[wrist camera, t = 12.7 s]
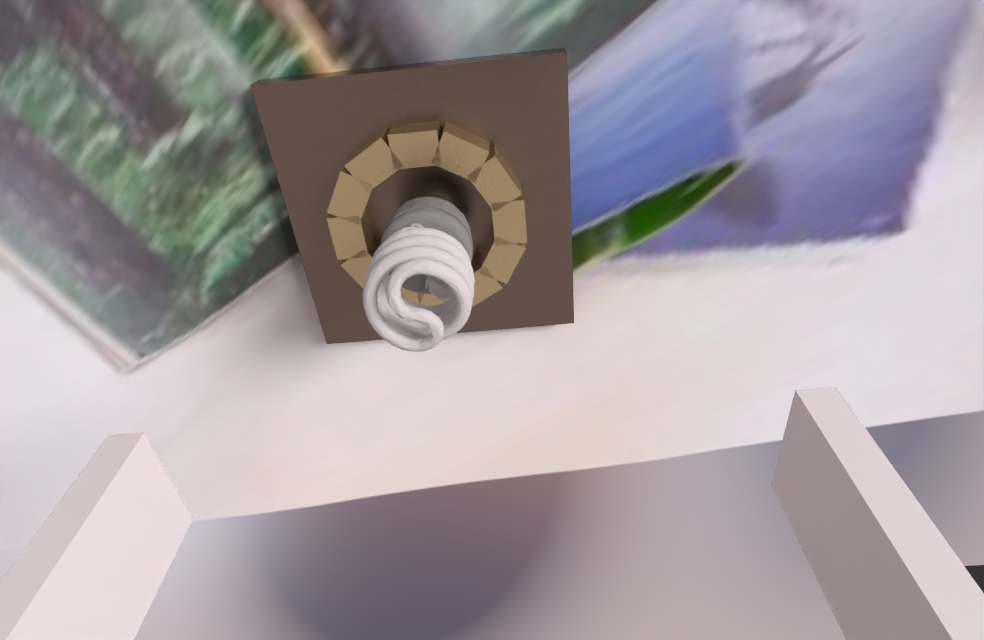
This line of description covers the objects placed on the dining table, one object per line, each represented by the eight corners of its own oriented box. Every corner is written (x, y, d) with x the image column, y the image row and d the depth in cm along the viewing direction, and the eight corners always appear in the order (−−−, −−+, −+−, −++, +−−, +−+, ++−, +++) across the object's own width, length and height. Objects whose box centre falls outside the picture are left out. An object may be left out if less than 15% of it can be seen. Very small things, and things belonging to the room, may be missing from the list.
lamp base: (258, 79, 35) (238, 93, 32) (563, 48, 35) (571, 58, 32) (331, 332, 45) (320, 360, 42) (571, 312, 44) (577, 338, 41)
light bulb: (488, 242, 40) (490, 347, 29) (411, 269, 41) (386, 379, 30) (456, 163, 37) (446, 249, 27) (373, 194, 38) (332, 288, 28)
